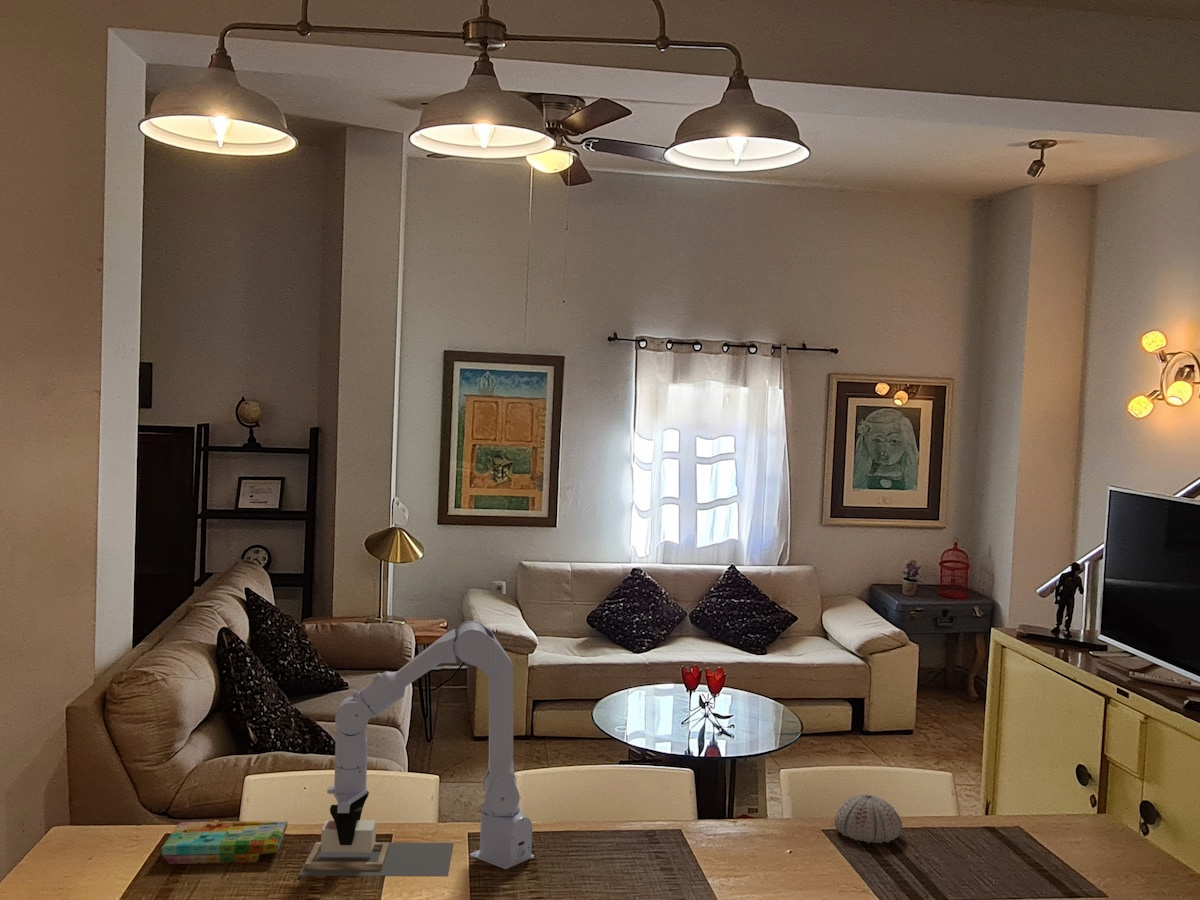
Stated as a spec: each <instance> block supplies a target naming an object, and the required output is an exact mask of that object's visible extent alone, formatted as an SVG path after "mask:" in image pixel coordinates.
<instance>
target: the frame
mask: <svg viewBox="0 0 1200 900" xmlns="http://www.w3.org/2000/svg"><path fill="white" fill-rule="evenodd" d="M315 843H316V844H315ZM315 843H314V844H315V846H314V845H313V846H314V848H313V847H312V848H313V850H312V849H311V850H312V852H311V851H310V852H311V853H309V854H310V855H308V856H309V857H308V856H307V858H308V859H307V858H306V860H307V861H305V862H306V863H305V862H304V864H305V870H382V868H383V865H384V862H385V859H386V856H387V853H388V850H389V842H387V841H386V842H384V841H383V842H377V841H375V844H374V847H373V849H372V850H381V852H380V855H379V858H378V861H377V862H315V860H316V858H317V856H318V854H319V852H320V850H321V841H315Z"/></svg>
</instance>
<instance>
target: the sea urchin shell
mask: <svg viewBox="0 0 1200 900" xmlns="http://www.w3.org/2000/svg"><path fill="white" fill-rule="evenodd" d="M834 826H835V829H836V830H837V831H838V833H842V834H841V835H842V836H845V837H846V836H847V837H850V838H849V839H851V838H852V839H854V840H853V841H855V840H860V841H865V842H868V843H869V844H871V843H870V842H874V843H881V844H883V843H882V842H887V843H891V842H893V841H894V840H895V839H898V836H899V835H901V832H902V828H903V821H902V818H901V817H900V815H899V814H898V811H896V810H895V807H893V806H892V805H891V804H890V803H889V802H888V801H887V800H885V799H883V798H881V797H878V796H876V795H873V794H858V795H857V794H856V795H854V796H851V797H850V798H848V799H847V800H846V801H844V803H843V804H841V806H840V807H839V808H838V811H837V812H835V816H834ZM847 837H846V838H847ZM852 839H851V840H852ZM891 840H892V841H891ZM860 841H859V842H860ZM868 843H867V844H868Z"/></svg>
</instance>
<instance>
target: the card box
mask: <svg viewBox="0 0 1200 900" xmlns="http://www.w3.org/2000/svg"><path fill="white" fill-rule="evenodd" d="M376 827H377V820H376V819H371V820H369V819H365V820H364V819H360V820H357V823H356V828H355V834H354V839H353V842H352V845H340V843H339V838H338V833H337V827H336V824H335V821H334V819H326V821H325V822H324V824H323V826H322V829H321V835H320V842H321V852H372V849H373V847H374V844H375V842H376V838H377V837H376V832H377V831H376V830H377V828H376Z"/></svg>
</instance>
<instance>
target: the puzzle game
mask: <svg viewBox="0 0 1200 900" xmlns="http://www.w3.org/2000/svg"><path fill="white" fill-rule="evenodd" d="M287 829H288V821H287V820H284V821H283V820H274V821H273V820H272V821H271V820H270V821H269V820H267V821H266V820H262V821H258V820H257V821H255V820H250V821H248V820H247V821H241V820H240V821H234V820H233V821H220V820H219V819H214V820H213V821H182V822H179V823H177V825H176V826H175V828H174V829H173V831H172V832H171V833H170V835H169V837H168V838H167V839H166V841H165V843H164V844H163V845H162V847H161V852H160V853H161V857H163V858H164V859H165V860H166V862H167V863H168V864H169V865H188V864H189V865H192V864H193V865H195V864H197V863H198V865H199V863H200V864H229V863H228V862H240V863H249V862H248V861H256V862H257V861H259V859H260V856H261V855H263V854H275V853H277V852H278V851H279V849H280V846H281V844H282V841H283V838H284V837H285V834H286V831H287ZM242 861H243V862H242ZM246 861H247V862H246ZM225 862H226V863H225Z"/></svg>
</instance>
